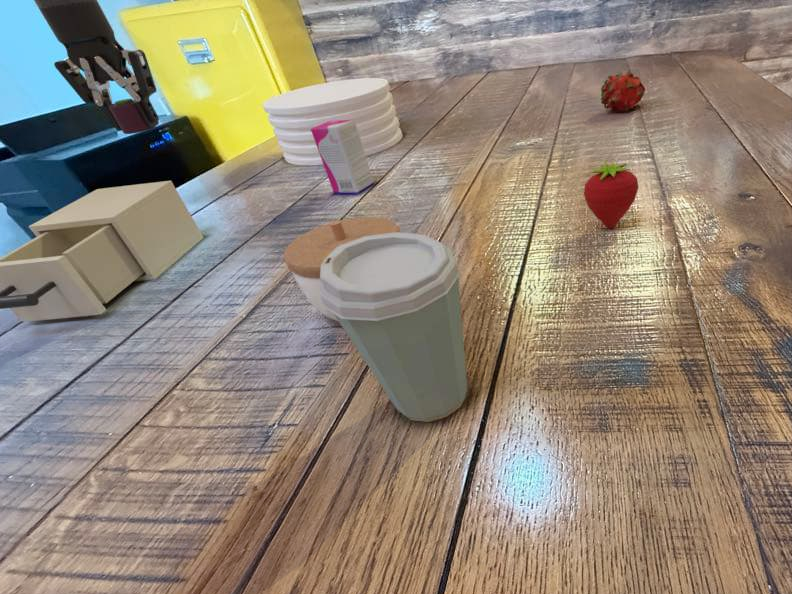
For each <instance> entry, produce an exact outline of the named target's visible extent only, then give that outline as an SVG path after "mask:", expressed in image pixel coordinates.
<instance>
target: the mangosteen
mask: <svg viewBox="0 0 792 594" xmlns="http://www.w3.org/2000/svg"><path fill="white" fill-rule="evenodd" d="M135 102H137V101H135V100H134V99H133V98H124V99H119V100H116V101H114V103H112V104H113V105H110V106H108V108H109V109H110V111H111V113H112V115H113V116H114V118H115V120H116V121H117V123H118V125H119V126H120V128H121V130H122V131H121V132H122V133H123V134H124V135H132V134H138V133H142V132H146V131H150V130H153V129H155V128H156V127H157V125H156V126H154V127H149V126H148V125H147V124H146V122H145V120H144V118H143V117H142V115H141V113H140V111H139V109H138V108H137V106H136V104H135Z"/></svg>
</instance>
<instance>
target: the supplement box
mask: <svg viewBox="0 0 792 594" xmlns="http://www.w3.org/2000/svg"><path fill="white" fill-rule="evenodd" d="M311 131H312V134H313V137H314V140H315V142H316V145H317V148H318V151H319V153H320V156H321V159H322V162H323V164H324V165H323V167H324V170H325V172H326V175H327V178H328V181H329V183H330V187H331V189H332V192H333V195H338V196H339V195H342V196H352V195H353V196H359V195H361V194H362V193H364V192H365V191H366V190H368V189H369V188H371V187H373V186H374V185H375V180H374V177H373V174H372V171H371V168H370V164H369V162H368V159H367V158H368V157H367V156H366V155H365V152H364V148H363V145H362V142H361V139H360V136H359V132H358V129H357V126H356V123H355V120H338V121H328V122H326V123H324V124H321V125H319V126H316V127H314V128H311Z"/></svg>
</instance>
